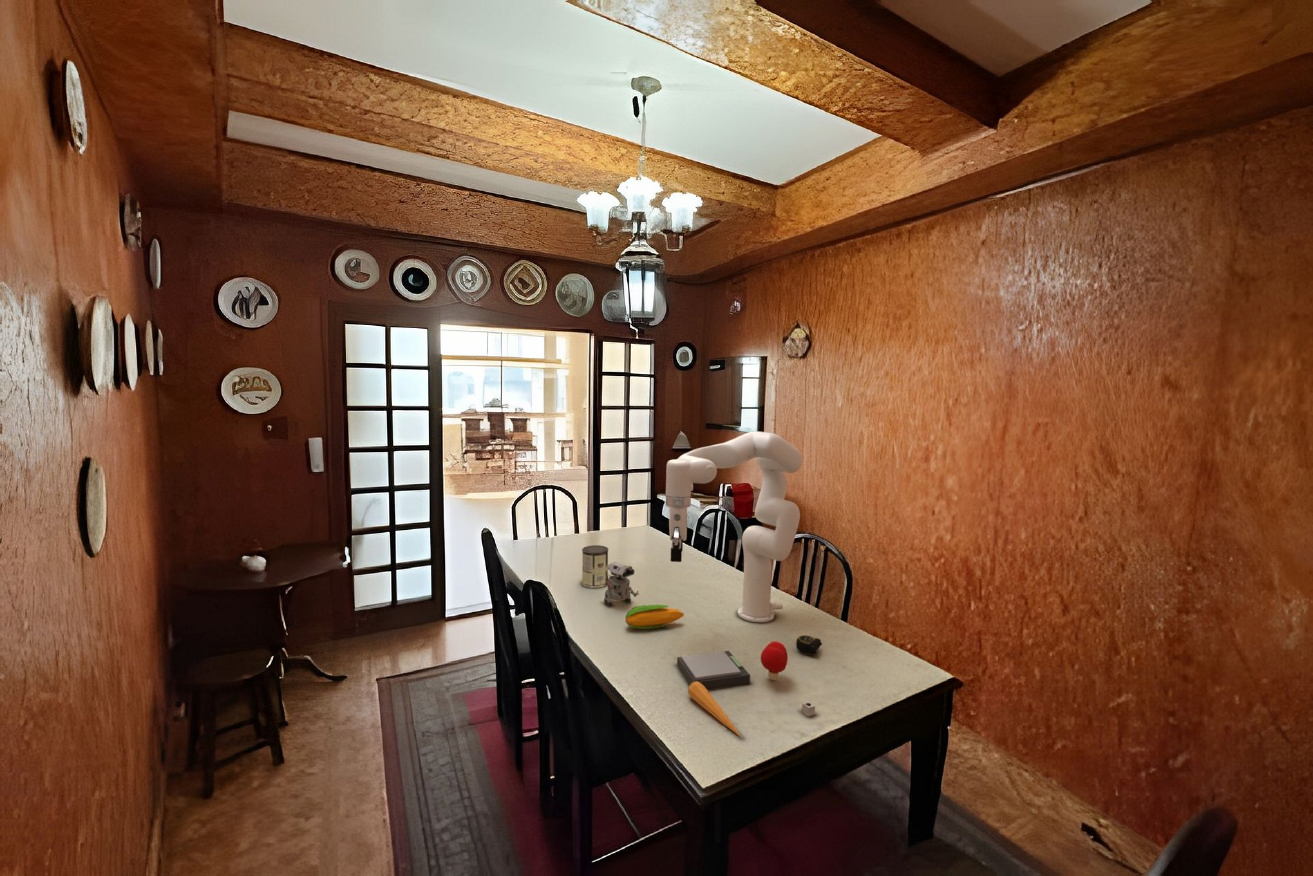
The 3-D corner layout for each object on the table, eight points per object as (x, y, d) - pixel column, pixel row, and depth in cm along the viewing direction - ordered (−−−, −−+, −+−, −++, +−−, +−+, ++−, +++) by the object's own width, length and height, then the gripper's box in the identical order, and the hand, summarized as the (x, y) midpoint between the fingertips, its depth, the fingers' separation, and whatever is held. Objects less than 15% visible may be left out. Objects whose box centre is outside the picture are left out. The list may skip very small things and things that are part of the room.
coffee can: (592, 577, 228) (593, 543, 227) (613, 582, 223) (613, 548, 222) (576, 584, 220) (576, 549, 218) (596, 590, 214) (597, 554, 213)
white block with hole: (801, 712, 138) (802, 702, 137) (808, 710, 139) (808, 700, 138) (808, 717, 136) (808, 707, 136) (814, 714, 137) (815, 705, 137)
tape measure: (814, 659, 165) (815, 647, 164) (792, 652, 168) (793, 640, 168) (821, 650, 170) (822, 638, 170) (799, 643, 174) (800, 632, 174)
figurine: (615, 613, 194) (616, 571, 192) (602, 601, 204) (602, 561, 202) (638, 608, 198) (639, 567, 197) (624, 597, 208) (625, 558, 207)
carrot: (687, 698, 144) (683, 685, 142) (701, 688, 146) (697, 675, 144) (735, 750, 127) (731, 736, 125) (750, 738, 129) (746, 724, 127)
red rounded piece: (779, 692, 146) (781, 655, 145) (754, 684, 150) (756, 648, 149) (791, 676, 154) (792, 642, 153) (767, 669, 158) (768, 635, 157)
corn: (623, 602, 184) (680, 597, 189) (622, 623, 185) (679, 618, 190) (628, 613, 176) (687, 607, 182) (627, 635, 178) (686, 628, 183)
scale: (728, 658, 164) (728, 648, 163) (749, 683, 150) (750, 672, 150) (677, 665, 159) (677, 654, 159) (694, 691, 146) (694, 679, 145)
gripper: (690, 507, 158) (688, 566, 160) (691, 495, 175) (689, 548, 177) (663, 506, 159) (662, 565, 160) (667, 494, 176) (666, 547, 178)
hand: (676, 556), depth 169 cm, fingers open, 9 cm apart
